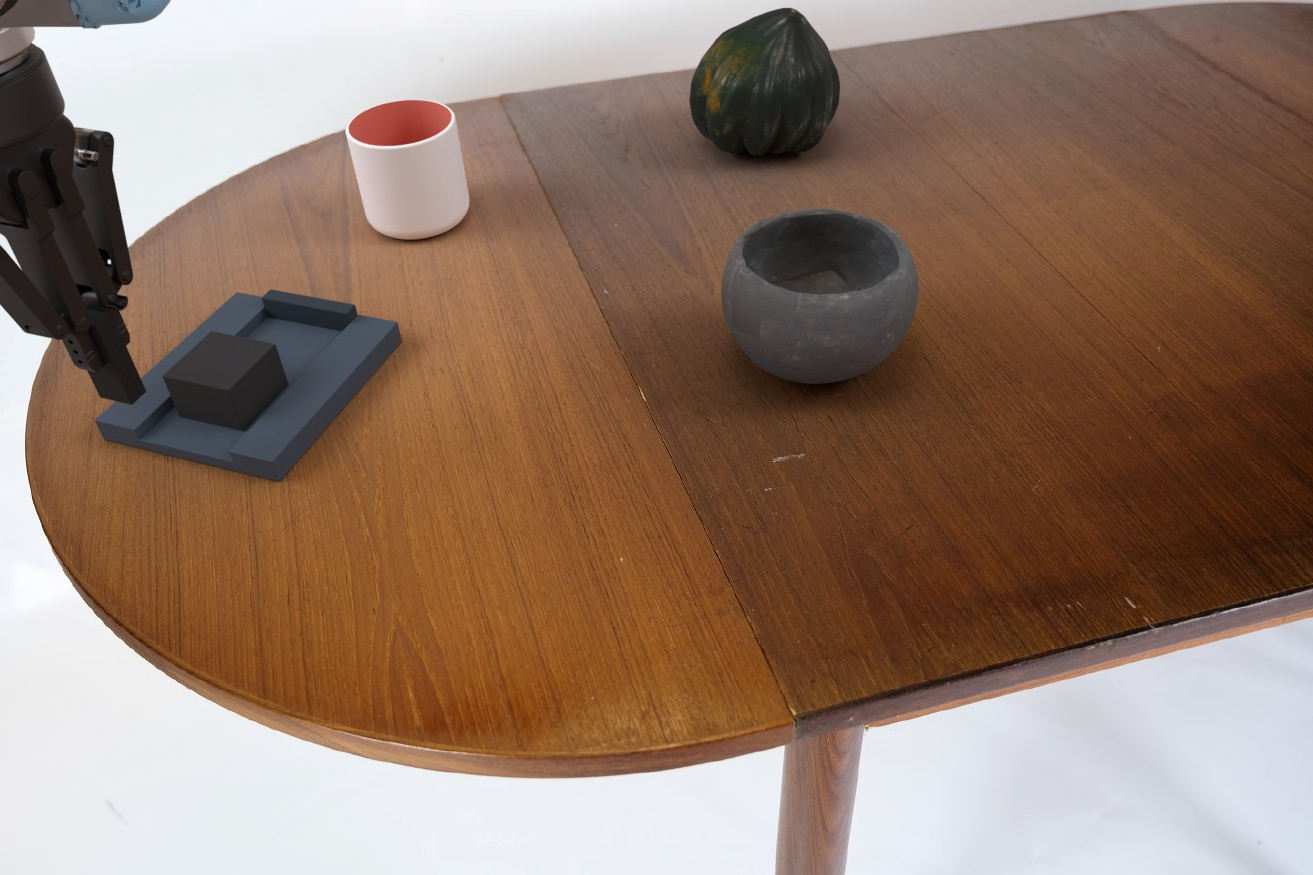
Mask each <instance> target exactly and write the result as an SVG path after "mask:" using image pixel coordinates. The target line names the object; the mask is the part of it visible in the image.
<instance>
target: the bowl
mask: <svg viewBox="0 0 1313 875" xmlns="http://www.w3.org/2000/svg"><path fill="white" fill-rule="evenodd" d="M720 286H721V288H720V296H721V306H722V314H723V318H724V319H725V324H726V326H727V329H728V331H729V332H730V335H731V336H732V338H733V340H734V341H735V343H736V344H737V345H738V347H739V349H740V350H741V351H742V353H743V354H745V356H746V357H747V358H748V359H749V360H750V361H751V362H752V363H754V364H755V365H756V366H757V367H759V368H760V369H761V370H763V371H764V372H767V373H768V374H769V375H773V376H775V377H776V378H780V379H782V380H787V381H790V382H794V383H799V384H808V385H810V384H811V385H818V384H819V385H821V384H833V383H837V382H841V381H847V380H850V379H852V378H855V377H857V376H860V375H862V374H865V373H867V372H869V371H871V370H873V369H874V368H876V367H877V366H879V365H880V364H881V363H883V362H884V361H885V360H886V359H887V358H888V357H890V355H891V354H892V353H893V352H894V351H895V350H896V349H897V348H898V347H899V345H900V344H901V342H903V340H904V338H905V337H906V336H907V334H908V333H909V331H910V329H911V326H912V324H913V321H914V318H915V315H916V311H917V306H918V300H919V277H918V272H917V268H916V264H915V261H914V257H913V254H912V253H911V250H910V249H909V247H908V245H907V244H906V243H905V241H904V240H903V238H902V237H901V236H900V235H899V234H898V233H897V232H896V231H895V230H894V229H893V228H891V227H890V226H888V224H886V223H884V222H882V221H879V220H877V219H875V218H872V217H870V216H866V215H863V214H860V213H856V212H852V211H846V210H839V209H834V208H824V207H823V208H806V209H798V210H793V211H790V212H789V211H786V212H782V213H779V214H776V215H772V216H769V217H767V218H764V219H762V220H760V221H758V222H756V223H754V224H753V225H751V226H750V227H748V228H747V229H746V230H745V231H743V232H742V233H741V234H740V235H739V236H738V237H737V238H736V239H735V240H734V243H733V245H732V248H731V250H730V252H729V254H728V256H727V259H726V262H725V265H724V269H723V273H722V277H721V285H720Z"/></svg>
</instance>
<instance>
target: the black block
mask: <svg viewBox="0 0 1313 875" xmlns="http://www.w3.org/2000/svg"><path fill="white" fill-rule="evenodd" d="M163 379H164V381H165V384H166V386H167V388H168V391H169V393H170V396H171V398H172V400H173V403H174V405H175V407H176V410H177V412H178V415H179V416H180V417H183V418H188V419H192V420H197V421H201V422H205V423H210V424H214V425H219V426H223V427H227V428H232V429H236V430H241V431H245V430H246V429H247V428H248V426H249V425H250V424H251V423H252V422H253V421H254V420H255V419H256V418H257V417H258V416H259V415H260V414H261V413H262V412H263V411H264V410H265V409H266V408H267V406H268V405H269V404H270V403H271V402H272V401H273V400H274V399H275V398H276V397H277V396H278V395H279V394H280V393H281V392H282V391H283V390H284V389H285V388H286V386H287V385H288V381H287V378H286V375H285V372H284V369H283V365H282V362H281V359H280V356H279V353H278V350H277V347H276V344H273V343H268V342H263V341H258V340H253V339H248V338H243V337H238V336H233V335H228V334H223V333H218V332H213V331H211V332H210V333H209V334H208V335H207V336H205V337H204V338H203V339H202V340H201V341H200V342H199V343H198V344H197V345H196V346H195V347H193V348H192V349H191V350H190V351H189V352H188V353H187V354H186V355H185V356H184V357H183V358H181V359H180V360H179V361H178V362H177V363H176V364H175V365H174V366H173V367H172V368H171V369H170V370H168V371H167V372H166V373H165V374H164V375H163Z"/></svg>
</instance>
